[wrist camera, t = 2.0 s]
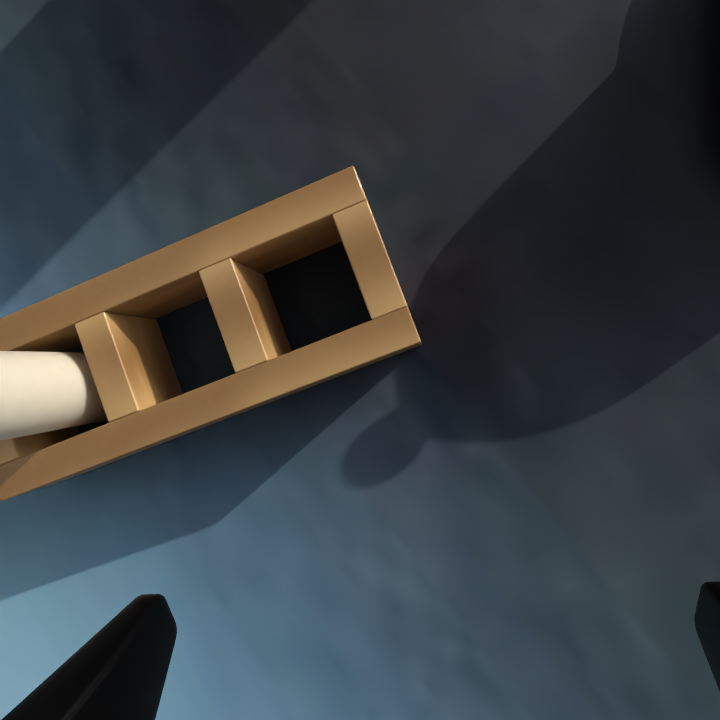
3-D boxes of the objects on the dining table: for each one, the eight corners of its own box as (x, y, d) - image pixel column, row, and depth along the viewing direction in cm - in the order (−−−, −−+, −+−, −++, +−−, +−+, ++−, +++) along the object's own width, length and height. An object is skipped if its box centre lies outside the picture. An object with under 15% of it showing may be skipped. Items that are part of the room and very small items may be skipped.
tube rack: (422, 344, 22) (420, 341, 19) (69, 478, 25) (0, 501, 21) (366, 198, 23) (353, 164, 19) (22, 344, 25) (-54, 341, 21)
